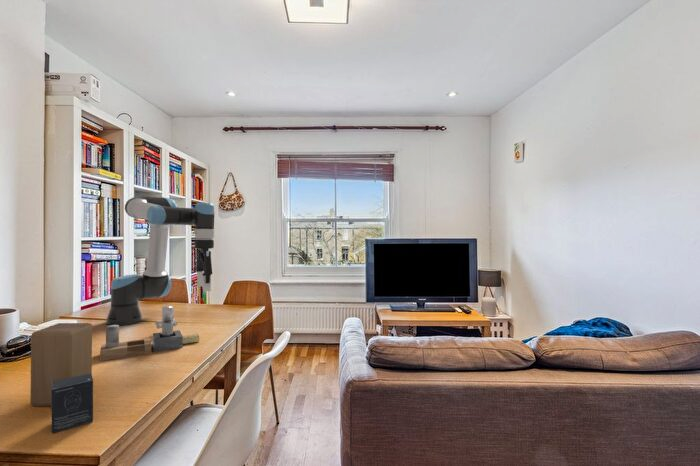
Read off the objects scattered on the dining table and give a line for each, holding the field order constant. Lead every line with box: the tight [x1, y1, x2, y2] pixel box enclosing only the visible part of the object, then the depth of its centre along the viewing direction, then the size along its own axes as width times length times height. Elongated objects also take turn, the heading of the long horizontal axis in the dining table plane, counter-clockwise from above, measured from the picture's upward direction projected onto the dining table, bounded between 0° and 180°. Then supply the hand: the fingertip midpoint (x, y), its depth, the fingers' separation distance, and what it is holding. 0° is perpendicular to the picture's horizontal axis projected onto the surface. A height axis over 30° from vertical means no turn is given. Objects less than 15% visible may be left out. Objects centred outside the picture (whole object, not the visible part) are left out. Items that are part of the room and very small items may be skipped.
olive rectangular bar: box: [182, 333, 200, 345], centre depth 145 cm, size 3×8×2 cm, turn 123°
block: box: [30, 322, 93, 407], centre depth 97 cm, size 10×10×20 cm
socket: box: [152, 329, 184, 353], centre depth 141 cm, size 10×10×4 cm
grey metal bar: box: [161, 305, 174, 338], centre depth 141 cm, size 4×4×16 cm
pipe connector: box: [155, 318, 178, 329], centre depth 156 cm, size 10×10×10 cm
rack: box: [99, 325, 152, 362], centre depth 132 cm, size 8×16×11 cm, turn 123°
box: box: [50, 372, 94, 434], centre depth 85 cm, size 8×6×11 cm
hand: (203, 288), depth 148 cm, fingers open, 13 cm apart
